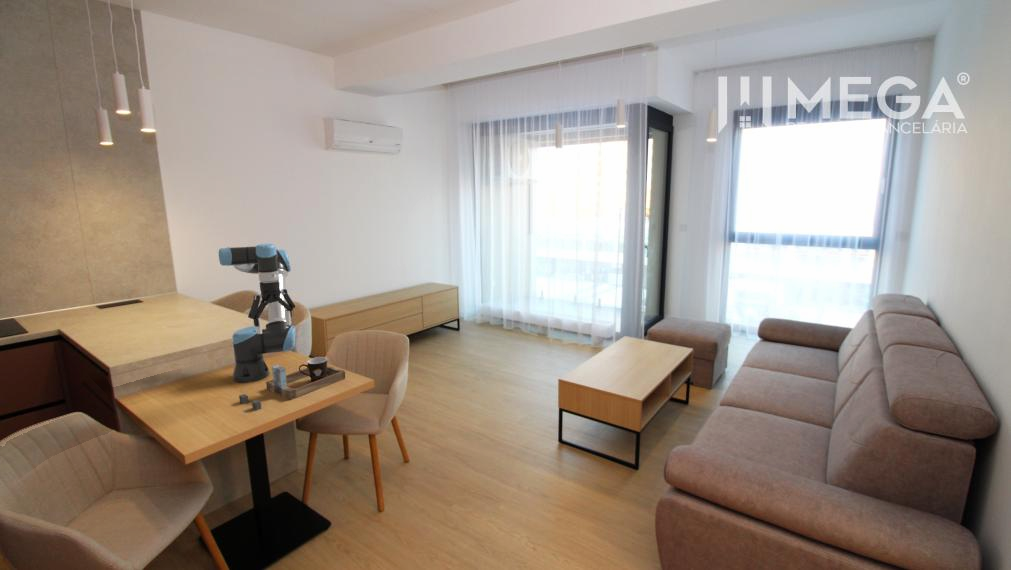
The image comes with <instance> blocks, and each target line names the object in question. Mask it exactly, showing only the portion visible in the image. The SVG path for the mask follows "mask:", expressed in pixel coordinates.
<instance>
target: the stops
mask: <svg viewBox="0 0 1011 570" xmlns="http://www.w3.org/2000/svg"><path fill="white" fill-rule="evenodd" d="M238 398H239V403H241V404H242V405H245V404H247V403H249V396H248V395H247V394H245V393H242V394H240V395H239V396H238ZM251 404H252V405H251V406H252V409H253V410H254V411H259V410H260V409H262V402H261V401H260V400H258V399H256V400H252V401H251Z"/></svg>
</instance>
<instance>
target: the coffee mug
mask: <svg viewBox="0 0 1011 570" xmlns="http://www.w3.org/2000/svg"><path fill="white" fill-rule="evenodd" d="M306 363H307V364H304V363H303V364H300V366H299V367H298V371H300V372H301V373H303V374H305V375H307V376H306V377H310V380H311V383H312V382H314V381H317V380H320V379H322V378H325V377H328V374H327V365H328V358H327V357H325V356H316V357H312V358H310V359H308V360H307V361H306ZM302 367H306V368H308V369H309V372H310V375H308V374H306V373H304V372H302V371H301V370H302V369H301V368H302Z"/></svg>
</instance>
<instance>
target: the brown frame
mask: <svg viewBox="0 0 1011 570" xmlns="http://www.w3.org/2000/svg"><path fill="white" fill-rule="evenodd" d="M271 368H272V369H271V370H272V378H273V379H272V380H269V381H266V382H265V384H266V390H267V391H270V392H272V393H275V394H277V395H278V396H282V397H284V398H286V399H289V400H294V399H296V398H299V397H301V396H304V395H307V394H309V393H311V392H315V391H317V390H319V389H321V388H324V387H326V386H330V385H332V384H334V383H336V382H339V381H342V380H344V379H346V371H345V370H342V369H340V368H336V367H334V366H331V365H328V364H327V376H326V377H325V378H322V379H320V380H317V381H314V382H312V381H311V382H310V383H307V384H304V385H302V386H298V387H296V388H292V387H289V386H288V384H289V383H292V382H295V381H297V380H300V379H303V378H306V377H308V376H307V375H305V374H303V373H301V372H300V371H299V370H297V371H294V372H292V373H288V374H287V373H286V372H287V371H286V367H283V366H281V365H278V364H276V365H274V366H272V367H271ZM300 370H301V371H302V372H304V373H306V374H308V375H310V372H309V369H308V368H307V367H306V368H303V369H300Z"/></svg>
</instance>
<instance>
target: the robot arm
mask: <svg viewBox="0 0 1011 570" xmlns="http://www.w3.org/2000/svg"><path fill="white" fill-rule="evenodd" d="M218 261H219V264H220V265H221V266H226V267H229V266H233V268H234V269H236V270H237V271H239V272H243V273H247V274H254V275H255V274H258V281H259V290H260V294H254V295H253V302H252V304H251V306H250V309H249V313H248V316H247V318H249V319H252V320H253V326H248V327H244V328H241V329H238V330H236V331H235V332H233V335H232V345H233V354H234V362H235V365H234V368H233V372H232V379H233V381H234V382H237V383H251V382H256V381H259V380H263V379H264V378H266V377H268V376H269V375H270V371H269V366H268V365H267V363H266V360H265V359H264V355H267V354H273V353H281V352H283V353H285V352H289V351H292V350H294V349H295V345H296V336H297V335H296V331H297V328H296V326H295V325H293V323H292V316H293V313H292V311H293V310H294V309H295V308H296V304H295V303H294V302H293V300H292V298H291V296H290V295H289V294H288V290H287V286H286V278H287V276H289V273H290V272H291V265H290V260H289V256H288V252H287V251H286V249H278V248H277V249H276V245H275V243H274V244H273V243H259V244H257V245H256V246H239V247H235V246H234V247H229V246H228V247H221V248H219V249H218ZM266 307H267V310H268V311H267V312H268V315H267V316H268V322H267V323H266V324H265V328H263V326H262V320H261V318H260V317H261V315H262V313H263V311H264V310H265V308H266Z"/></svg>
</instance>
